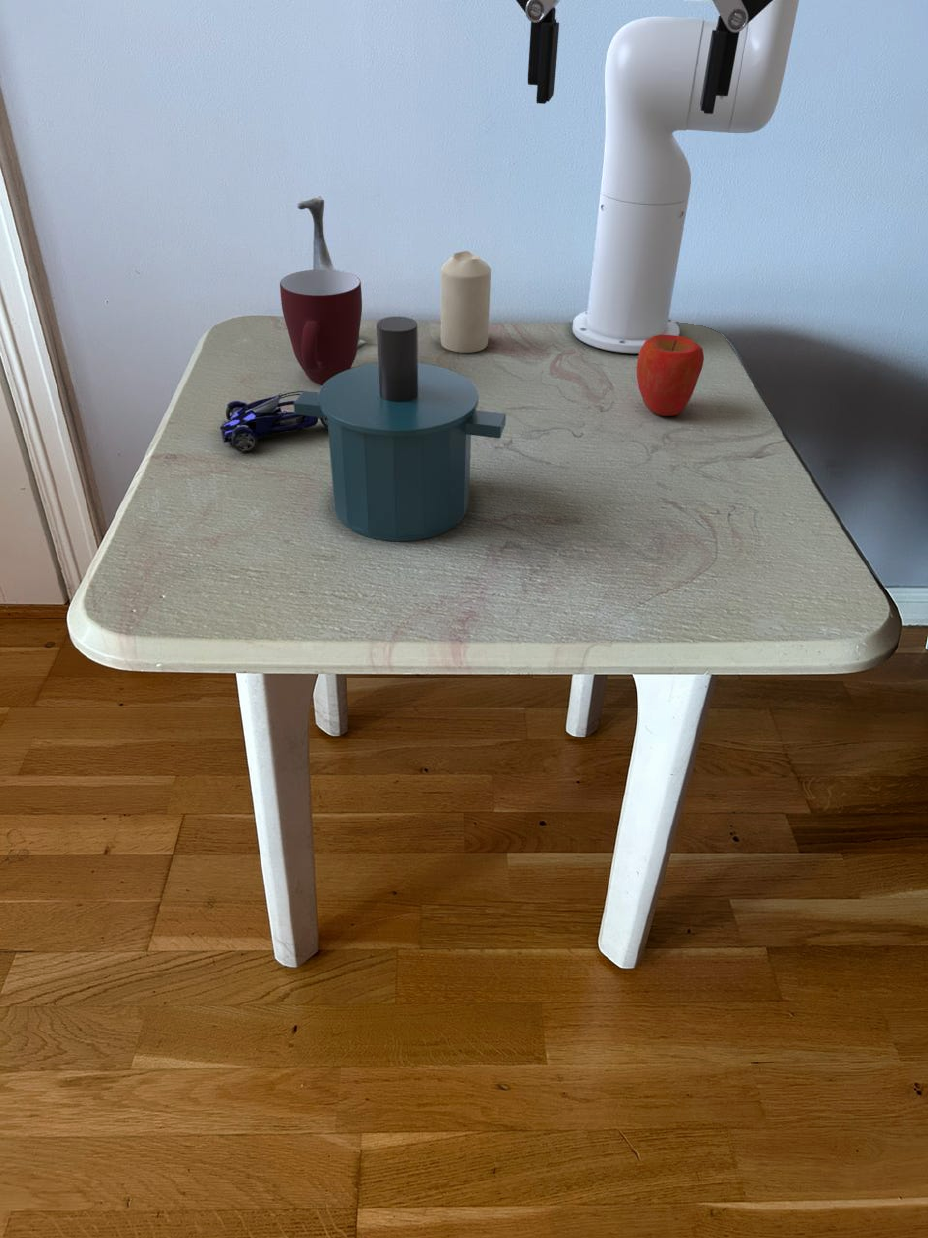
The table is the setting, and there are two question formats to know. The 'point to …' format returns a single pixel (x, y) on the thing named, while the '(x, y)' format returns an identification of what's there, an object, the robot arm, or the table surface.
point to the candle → (465, 303)
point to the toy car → (262, 421)
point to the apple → (668, 372)
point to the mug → (322, 320)
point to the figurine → (319, 237)
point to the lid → (398, 389)
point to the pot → (401, 475)
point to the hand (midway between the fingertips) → (624, 104)
